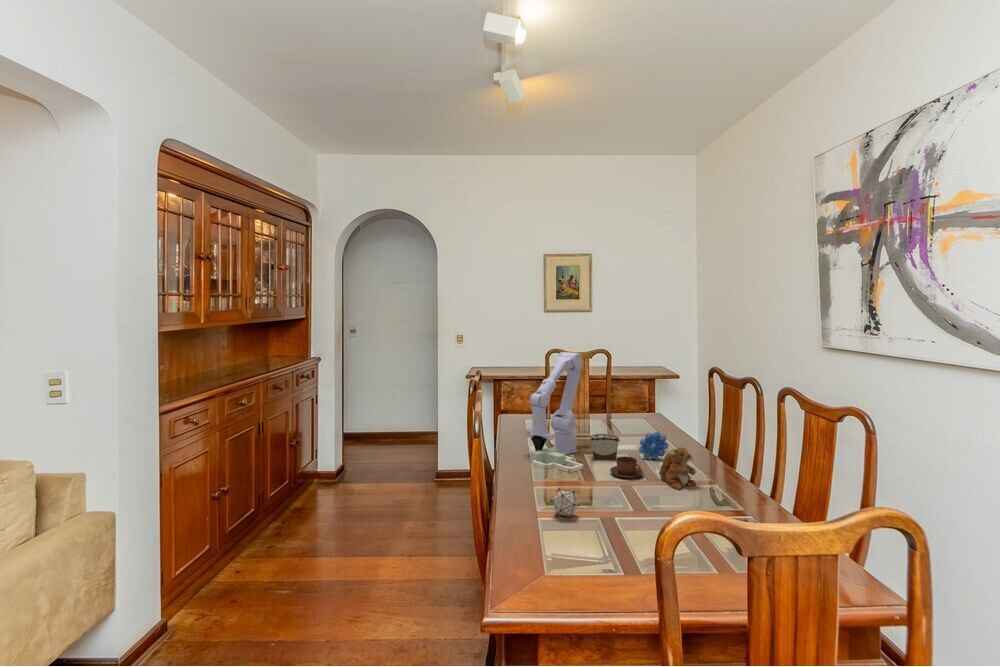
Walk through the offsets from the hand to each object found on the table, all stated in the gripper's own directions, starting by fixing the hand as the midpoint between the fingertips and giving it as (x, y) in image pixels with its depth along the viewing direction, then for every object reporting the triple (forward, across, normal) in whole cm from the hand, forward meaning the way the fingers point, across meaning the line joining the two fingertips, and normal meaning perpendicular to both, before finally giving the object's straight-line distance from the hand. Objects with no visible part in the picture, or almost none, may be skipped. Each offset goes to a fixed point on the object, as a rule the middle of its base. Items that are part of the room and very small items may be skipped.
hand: (539, 453), depth 215 cm
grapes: (+2, +31, +36) cm, 48 cm away
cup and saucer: (+2, +37, +10) cm, 38 cm away
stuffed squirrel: (+2, +53, +17) cm, 56 cm away
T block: (+2, +7, 0) cm, 7 cm away
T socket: (+2, +13, 0) cm, 13 cm away
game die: (+2, +50, -36) cm, 61 cm away
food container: (+2, +17, +21) cm, 27 cm away
